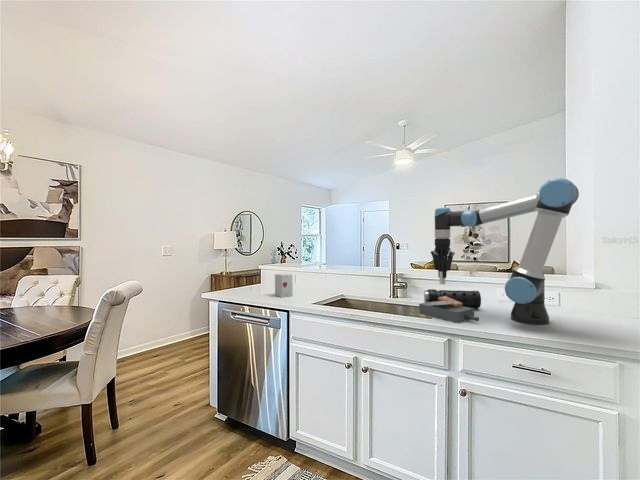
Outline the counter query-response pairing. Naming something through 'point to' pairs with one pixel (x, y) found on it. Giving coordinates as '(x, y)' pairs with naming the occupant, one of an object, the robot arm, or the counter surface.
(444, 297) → the orange slotted plate
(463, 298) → the muzzle brake
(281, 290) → the supplement box
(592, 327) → the counter surface
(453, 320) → the switch module
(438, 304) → the light grey flat plate
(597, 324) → the counter surface
